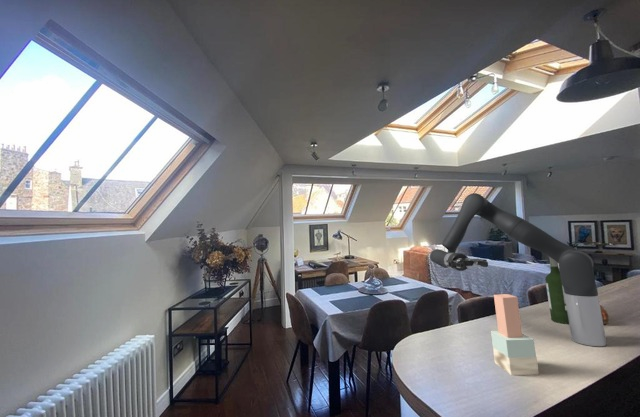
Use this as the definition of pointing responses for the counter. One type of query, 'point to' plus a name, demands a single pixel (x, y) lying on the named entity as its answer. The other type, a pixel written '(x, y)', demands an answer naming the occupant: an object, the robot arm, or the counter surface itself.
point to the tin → (604, 315)
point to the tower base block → (516, 364)
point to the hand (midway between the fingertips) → (475, 264)
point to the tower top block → (513, 345)
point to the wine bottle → (556, 295)
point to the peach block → (508, 315)
